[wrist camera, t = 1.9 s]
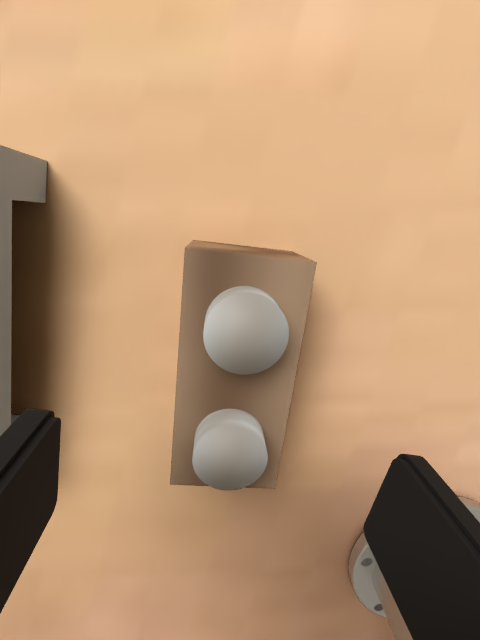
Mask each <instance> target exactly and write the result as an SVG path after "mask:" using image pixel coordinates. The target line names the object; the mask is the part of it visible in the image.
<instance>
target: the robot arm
mask: <svg viewBox="0 0 480 640" xmlns="http://www.w3.org/2000/svg"><path fill="white" fill-rule="evenodd" d="M60 430H61V420H60V418H56V417H54V412H53V411H49V410H41V409H33V408H28V409H26V410H25V411H23V412H22V414H21V415H20V416H19V417H18V418H17V419H16V420H15V421H14V422H13V423H12V424H11V425H10V426H9V427H8V429H7V430H6V431H5V432H4V433H3V434H2V435H1V436H0V613H1V611H2V609H3V607H4V605H5V603H6V602H7V600H8V598H9V596H10V594H11V592H12V590H13V588H14V586H15V584H16V582H17V581H18V579H19V577H20V575H21V573H22V571H23V569H24V567H25V565H26V563H27V561H28V560H29V558H30V556H31V554H32V552H33V550H34V548H35V546H36V544H37V542H38V540H39V539H40V537H41V535H42V533H43V531H44V529H45V527H46V525H47V523H48V521H49V520H50V518H51V516H52V514H53V511H54V509H55V506H56V502H57V493H58V472H59V451H60ZM349 576H350V579H351V583H352V586H353V588H354V591H355V593H356V595H357V597H358V599H359V600H360V601H361V603H362V604H363V605H364V606H365V607H366V608H368V609H369V610H370V611H372V612H373V613H375V614H378V615H380V616H382V617H385V618H387V619H388V621H389V624H390V626H391V629H392V631H393V633H394V636H395V638H396V640H480V503H478V502H476V501H474V500H471V499H467V498H464V497H458V496H456V494H455V493H454V492H453V491H452V490H451V489H450V487H449V486H448V485H447V484H446V483H445V482H444V480H443V479H442V478H441V477H440V476H439V475H438V474H437V472H436V471H435V470H434V469H433V468H432V467H431V465H430V464H429V463H428V462H427V461H426V460H425V459H424V458H423V457H421V456H416V455H408V454H400V455H399V456H398V457H397V458H395V459H394V460H393V461H392V463H391V465H390V467H389V470H388V472H387V474H386V476H385V479H384V481H383V483H382V485H381V488H380V490H379V492H378V494H377V497H376V499H375V501H374V503H373V506H372V508H371V510H370V512H369V515H368V517H367V519H366V521H365V524H364V532H363V533H362V534H361V536H360V537H359V538H358V540H357V541H356V543H355V545H354V548H353V550H352V552H351V555H350V559H349Z"/></svg>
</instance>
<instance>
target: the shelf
mask: <svg viewBox="0 0 480 640" xmlns="http://www.w3.org/2000/svg"><path fill="white" fill-rule="evenodd" d="M46 178H47V161H45V160H43V159H40V158H37V157H34V156H31V155H28V154H25V153H22V152H19V151H16V150H13V149H10V148H7V147H4V146H1V145H0V436H1V435H2V434H3V433H4V432H5V431H6V430H7V429H8V427H9V426H10V425H11V424H12V423H13V422H14V421H15V420H16V419H17V418H18V417H19V416H20V415H14V414H11V308H12V200H19V201H30V202H40V203H46Z"/></svg>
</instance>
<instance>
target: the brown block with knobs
mask: <svg viewBox="0 0 480 640" xmlns="http://www.w3.org/2000/svg"><path fill="white" fill-rule="evenodd" d="M316 264H317V262H315V261H313V260H310V259H308V258H306V257H304V256H301V255H299V254H297V253H294V252H292V251H285V250H276V249H267V248H259V247H250V246H241V245H232V244H223V243H215V242H206V241H197V240H193V241H192V242H191V243H190V244H189V245H187V246H186V247H185V254H184V270H183V286H182V302H181V318H180V333H179V349H178V365H177V381H176V397H175V413H174V429H173V444H172V460H171V476H170V485H195V486H211V487H213V488H216V489H220V490H236V489H241V488H244V487H245V488H271V489H275V485H276V479H277V474H278V469H279V463H280V458H281V452H282V447H283V442H284V436H285V431H286V425H287V420H288V415H289V409H290V404H291V399H292V393H293V388H294V382H295V377H296V372H297V366H298V361H299V355H300V350H301V345H302V339H303V334H304V328H305V323H306V318H307V312H308V307H309V301H310V296H311V291H312V285H313V280H314V275H315V269H316Z"/></svg>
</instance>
